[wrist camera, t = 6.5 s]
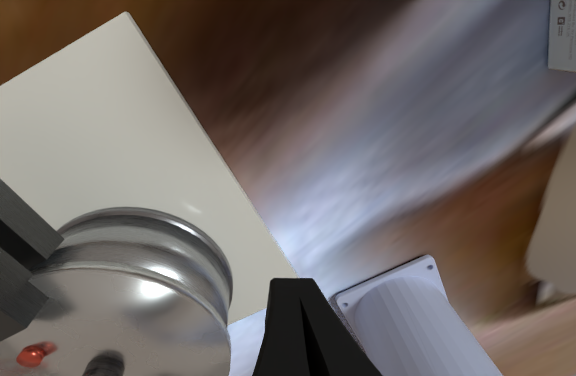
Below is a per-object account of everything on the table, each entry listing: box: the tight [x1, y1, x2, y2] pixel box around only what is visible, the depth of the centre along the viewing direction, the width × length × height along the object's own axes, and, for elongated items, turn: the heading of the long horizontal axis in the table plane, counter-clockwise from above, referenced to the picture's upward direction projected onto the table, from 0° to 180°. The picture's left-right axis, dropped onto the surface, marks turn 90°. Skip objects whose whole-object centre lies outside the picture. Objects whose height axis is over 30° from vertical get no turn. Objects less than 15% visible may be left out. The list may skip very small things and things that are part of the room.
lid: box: [0, 248, 231, 376], centre depth 15 cm, size 21×13×2 cm, turn 27°
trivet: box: [0, 12, 300, 325], centre depth 20 cm, size 20×17×1 cm
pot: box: [0, 179, 233, 327], centre depth 18 cm, size 22×12×5 cm, turn 26°
